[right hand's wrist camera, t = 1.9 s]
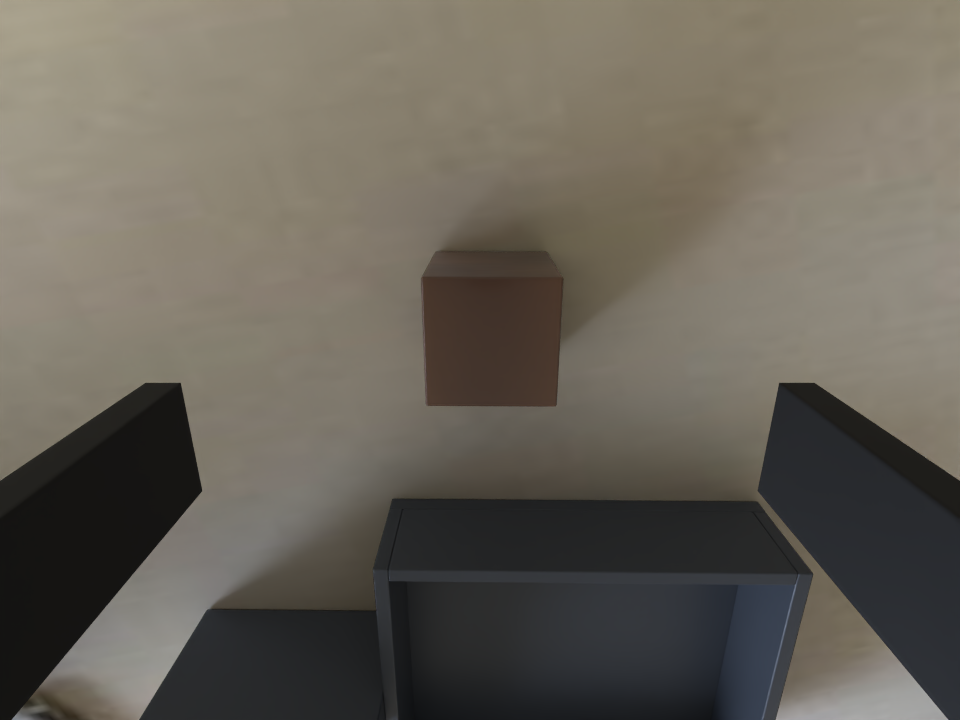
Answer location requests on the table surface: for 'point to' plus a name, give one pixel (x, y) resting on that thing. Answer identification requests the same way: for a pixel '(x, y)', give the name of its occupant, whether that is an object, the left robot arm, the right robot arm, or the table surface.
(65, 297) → the table surface
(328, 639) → the tray
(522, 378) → the block
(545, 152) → the table surface
